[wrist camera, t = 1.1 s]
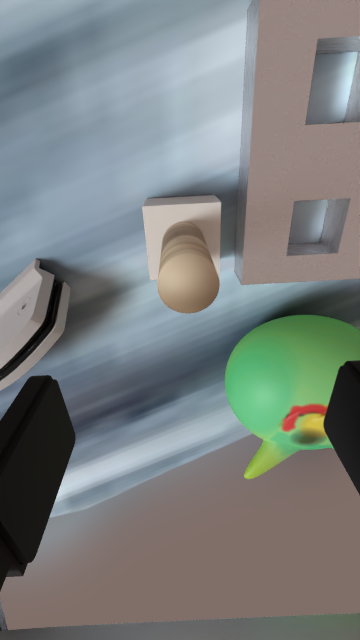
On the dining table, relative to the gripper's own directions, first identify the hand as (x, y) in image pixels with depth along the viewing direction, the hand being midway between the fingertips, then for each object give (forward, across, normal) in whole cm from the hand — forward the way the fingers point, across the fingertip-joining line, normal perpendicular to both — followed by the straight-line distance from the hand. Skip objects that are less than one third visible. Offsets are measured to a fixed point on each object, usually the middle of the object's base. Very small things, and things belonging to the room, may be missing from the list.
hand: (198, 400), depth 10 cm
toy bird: (+26, -13, +17) cm, 33 cm away
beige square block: (+25, 0, 0) cm, 25 cm away
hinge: (+26, +21, +10) cm, 34 cm away
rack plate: (+25, -13, -6) cm, 29 cm away
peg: (+20, 0, 0) cm, 20 cm away
